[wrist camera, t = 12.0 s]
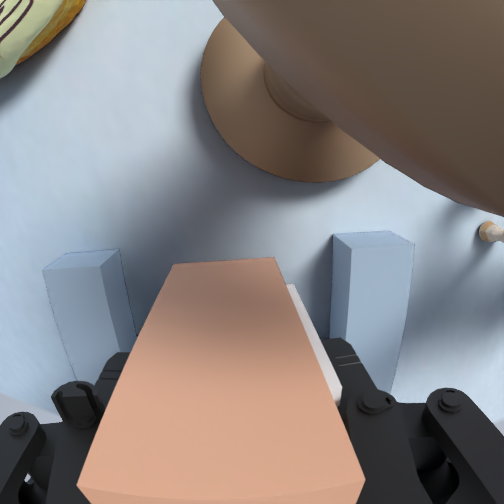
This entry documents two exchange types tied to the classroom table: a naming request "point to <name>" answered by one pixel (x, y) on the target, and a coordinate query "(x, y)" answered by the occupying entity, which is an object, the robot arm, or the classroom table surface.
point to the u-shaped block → (341, 317)
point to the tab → (222, 401)
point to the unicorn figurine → (491, 232)
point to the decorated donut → (31, 27)
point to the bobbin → (364, 90)
